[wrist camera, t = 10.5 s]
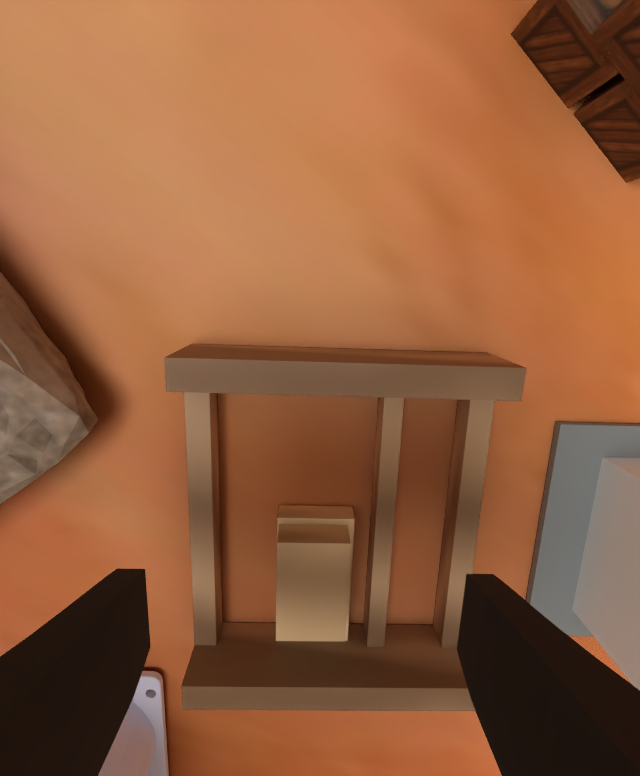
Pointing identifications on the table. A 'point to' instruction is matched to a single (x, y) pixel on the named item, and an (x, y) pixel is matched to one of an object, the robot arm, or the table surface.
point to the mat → (571, 513)
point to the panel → (614, 566)
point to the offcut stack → (313, 572)
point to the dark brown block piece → (592, 68)
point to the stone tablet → (34, 398)
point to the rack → (374, 637)
